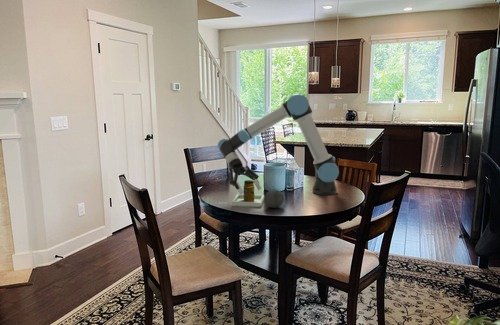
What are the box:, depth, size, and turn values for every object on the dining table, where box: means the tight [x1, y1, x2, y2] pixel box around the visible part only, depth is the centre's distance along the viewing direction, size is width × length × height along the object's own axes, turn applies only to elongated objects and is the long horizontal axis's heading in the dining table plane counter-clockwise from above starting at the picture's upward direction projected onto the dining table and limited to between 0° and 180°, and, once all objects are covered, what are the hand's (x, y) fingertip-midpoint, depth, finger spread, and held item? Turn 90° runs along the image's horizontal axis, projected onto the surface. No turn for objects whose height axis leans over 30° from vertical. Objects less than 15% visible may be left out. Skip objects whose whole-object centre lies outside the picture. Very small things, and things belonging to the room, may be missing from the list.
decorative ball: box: [264, 188, 285, 209], centre depth 190 cm, size 10×10×10 cm
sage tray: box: [231, 193, 265, 208], centre depth 200 cm, size 16×16×2 cm
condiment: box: [240, 179, 257, 202], centre depth 199 cm, size 7×8×12 cm
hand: (251, 191), depth 197 cm, fingers open, 13 cm apart
